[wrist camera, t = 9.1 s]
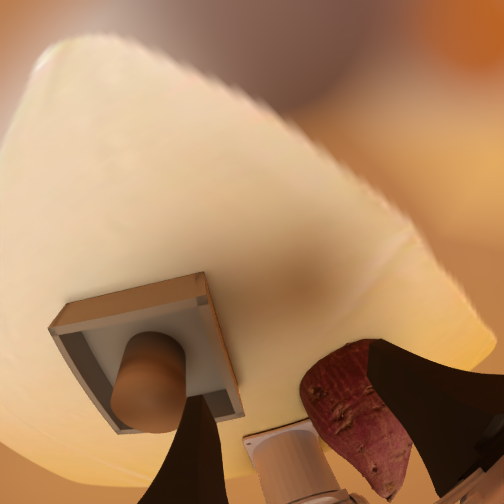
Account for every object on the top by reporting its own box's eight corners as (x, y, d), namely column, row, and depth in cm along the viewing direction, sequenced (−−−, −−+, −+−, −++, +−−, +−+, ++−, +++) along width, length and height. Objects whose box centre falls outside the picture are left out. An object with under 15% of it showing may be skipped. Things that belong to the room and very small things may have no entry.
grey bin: (237, 386, 22) (245, 416, 18) (122, 405, 20) (117, 434, 17) (203, 271, 18) (206, 294, 15) (66, 303, 17) (47, 328, 14)
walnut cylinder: (192, 375, 20) (196, 429, 15) (137, 382, 19) (129, 435, 14) (176, 326, 18) (173, 380, 13) (116, 335, 18) (97, 387, 12)
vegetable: (325, 401, 29) (354, 512, 17) (274, 375, 24) (301, 528, 12) (403, 357, 26) (453, 470, 14) (373, 315, 21) (447, 478, 9)
